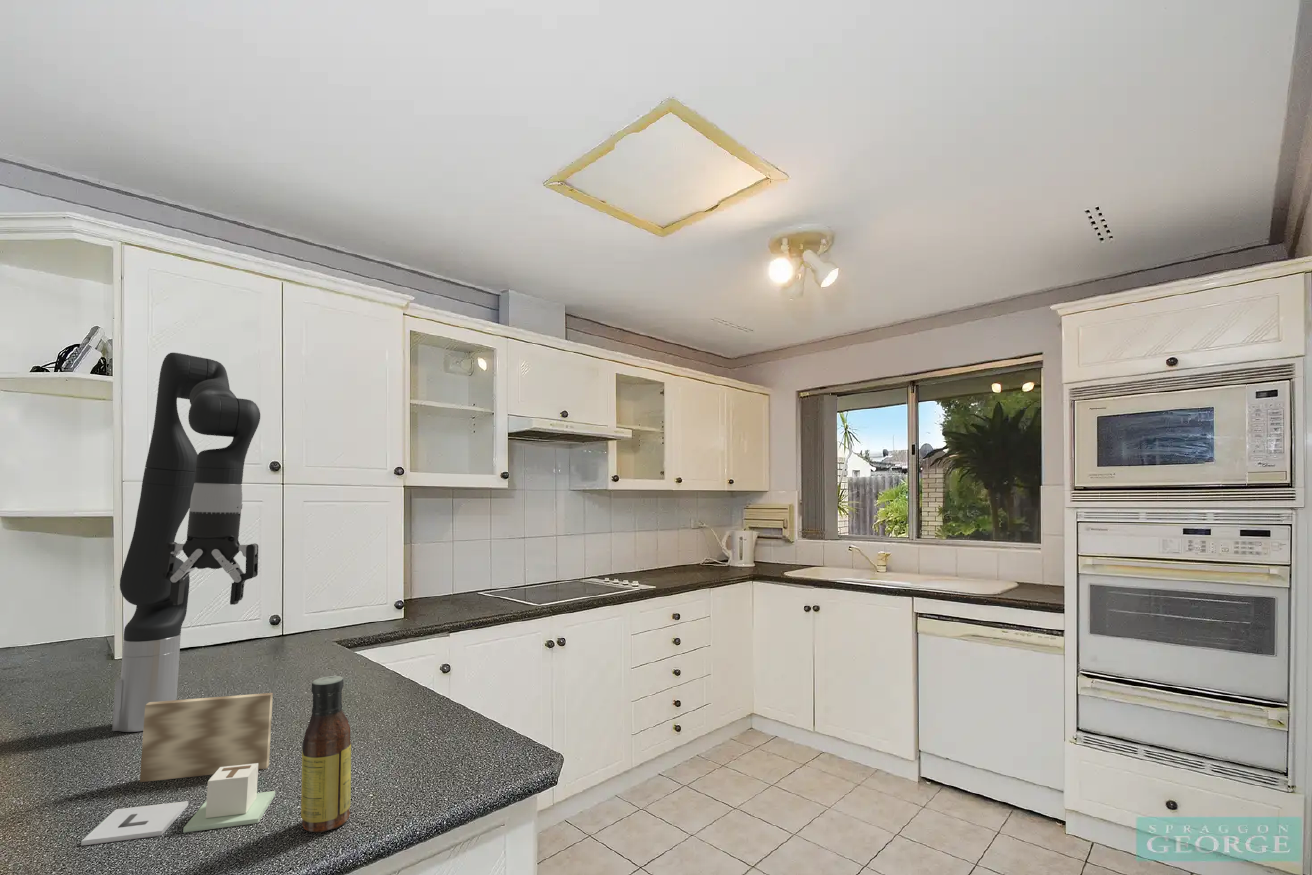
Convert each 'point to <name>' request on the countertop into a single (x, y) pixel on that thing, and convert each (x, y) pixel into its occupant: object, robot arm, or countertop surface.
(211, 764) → the thin wooden plank
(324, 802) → the sauce bottle
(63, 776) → the countertop surface
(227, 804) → the cube
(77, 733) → the countertop surface
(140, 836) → the board
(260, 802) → the board
